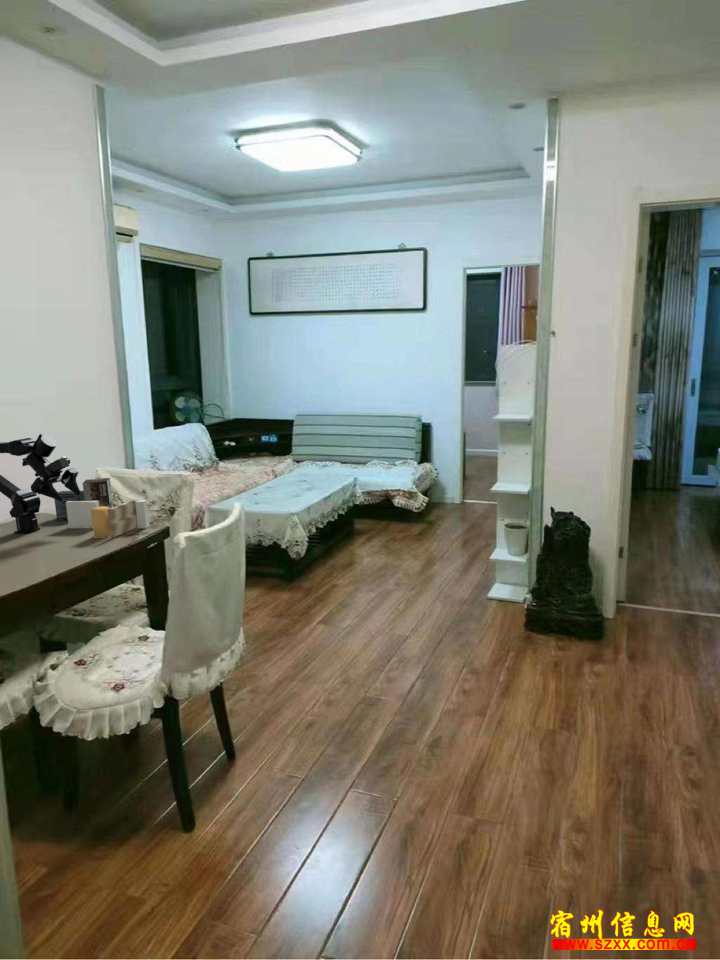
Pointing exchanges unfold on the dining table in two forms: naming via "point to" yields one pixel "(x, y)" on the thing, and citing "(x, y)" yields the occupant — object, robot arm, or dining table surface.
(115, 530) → the door
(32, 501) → the robot arm
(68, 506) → the wall frame
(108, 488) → the coffee box
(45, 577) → the dining table surface
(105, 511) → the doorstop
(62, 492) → the small box
